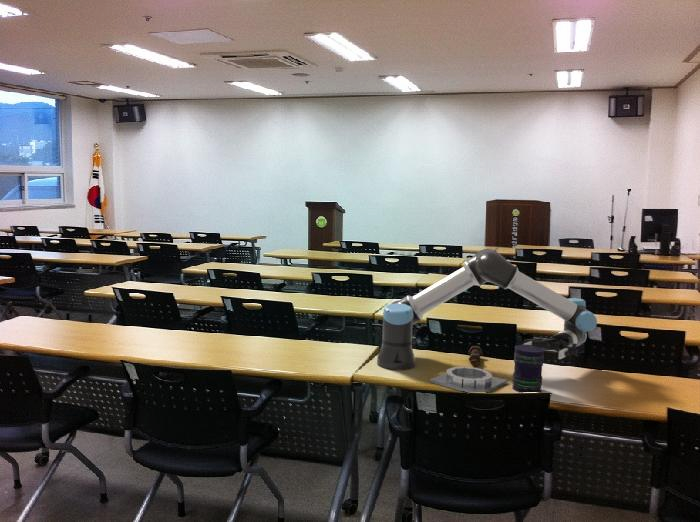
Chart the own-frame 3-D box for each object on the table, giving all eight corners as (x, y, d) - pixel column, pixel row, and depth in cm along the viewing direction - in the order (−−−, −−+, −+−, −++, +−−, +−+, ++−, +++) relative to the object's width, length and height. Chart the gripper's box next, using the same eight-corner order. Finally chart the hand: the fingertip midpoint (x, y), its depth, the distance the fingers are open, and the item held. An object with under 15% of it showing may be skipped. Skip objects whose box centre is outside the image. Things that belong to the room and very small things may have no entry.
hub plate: (429, 382, 205) (430, 372, 204) (458, 371, 220) (459, 361, 219) (479, 396, 192) (480, 386, 191) (506, 383, 207) (507, 373, 206)
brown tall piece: (472, 371, 226) (473, 360, 240) (483, 366, 225) (484, 355, 239) (465, 358, 226) (466, 348, 240) (477, 353, 224) (477, 343, 239)
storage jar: (506, 388, 201) (509, 347, 199) (520, 383, 207) (523, 343, 206) (532, 396, 194) (535, 353, 192) (546, 390, 200) (549, 348, 199)
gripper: (596, 357, 214) (575, 369, 199) (532, 344, 231) (508, 354, 215) (597, 337, 214) (576, 348, 198) (533, 326, 230) (509, 335, 214)
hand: (541, 351), depth 206 cm, fingers open, 13 cm apart
